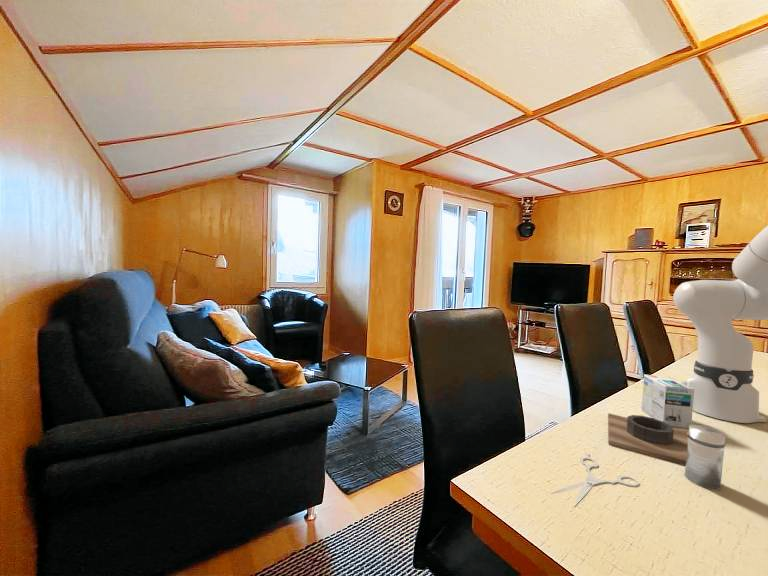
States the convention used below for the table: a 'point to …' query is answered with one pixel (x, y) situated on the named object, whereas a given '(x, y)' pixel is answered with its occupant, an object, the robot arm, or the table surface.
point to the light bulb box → (668, 400)
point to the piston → (705, 456)
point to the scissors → (594, 480)
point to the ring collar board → (648, 437)
